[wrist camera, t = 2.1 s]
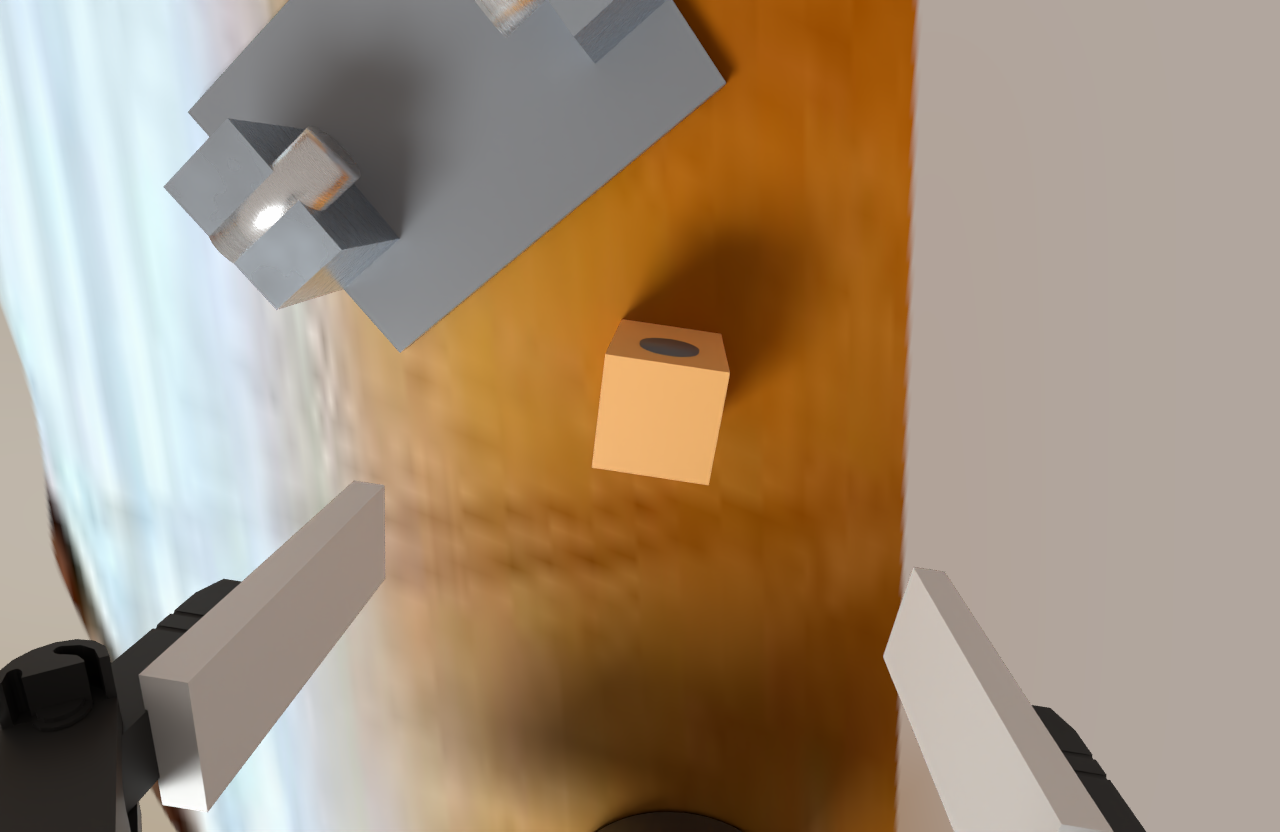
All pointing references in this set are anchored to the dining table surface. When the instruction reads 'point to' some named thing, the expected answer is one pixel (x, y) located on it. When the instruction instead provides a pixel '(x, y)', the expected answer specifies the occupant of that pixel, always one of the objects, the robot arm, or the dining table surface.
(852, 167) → the dining table surface
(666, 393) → the coupler
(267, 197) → the shaft stands
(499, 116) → the board
